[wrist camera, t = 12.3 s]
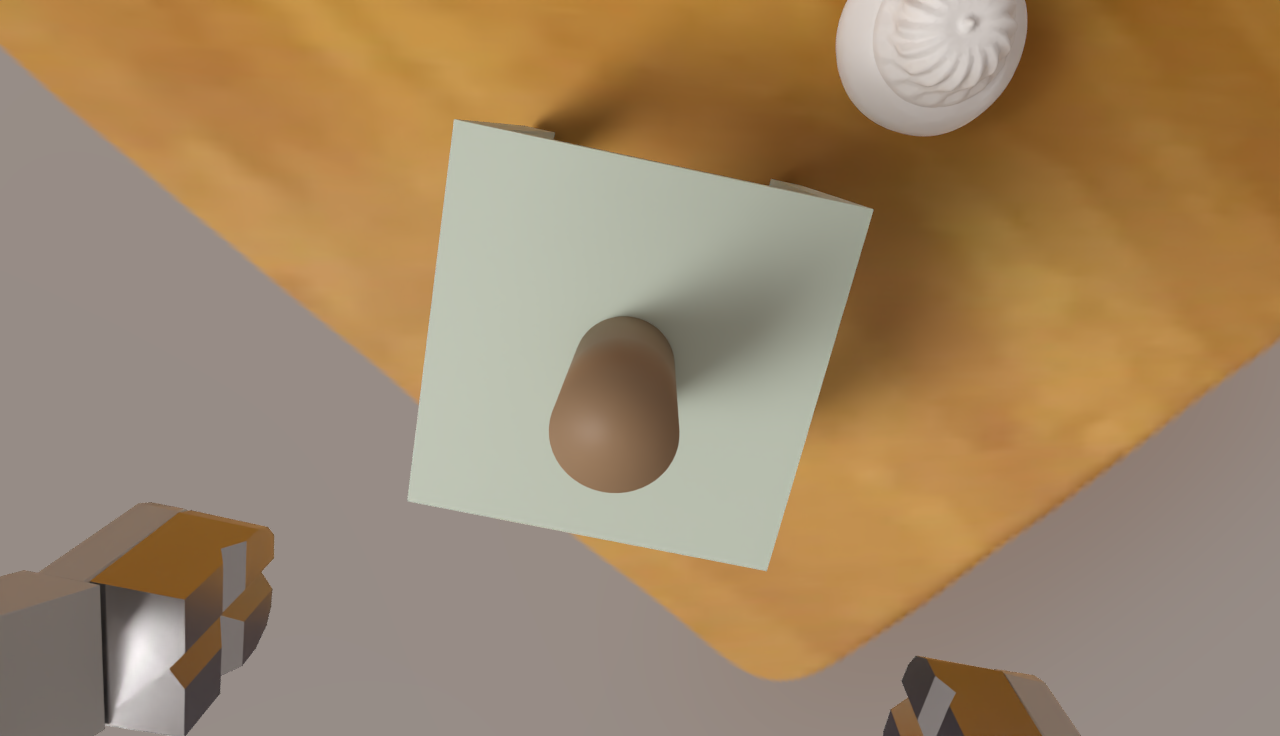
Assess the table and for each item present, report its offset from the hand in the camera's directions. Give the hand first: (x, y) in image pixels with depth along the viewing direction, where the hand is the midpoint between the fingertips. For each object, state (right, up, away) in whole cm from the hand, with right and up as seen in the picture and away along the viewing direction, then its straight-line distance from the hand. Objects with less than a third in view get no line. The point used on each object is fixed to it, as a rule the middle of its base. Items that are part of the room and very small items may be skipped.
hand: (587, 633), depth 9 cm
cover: (0, +7, +21) cm, 22 cm away
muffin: (+10, +15, +19) cm, 26 cm away
